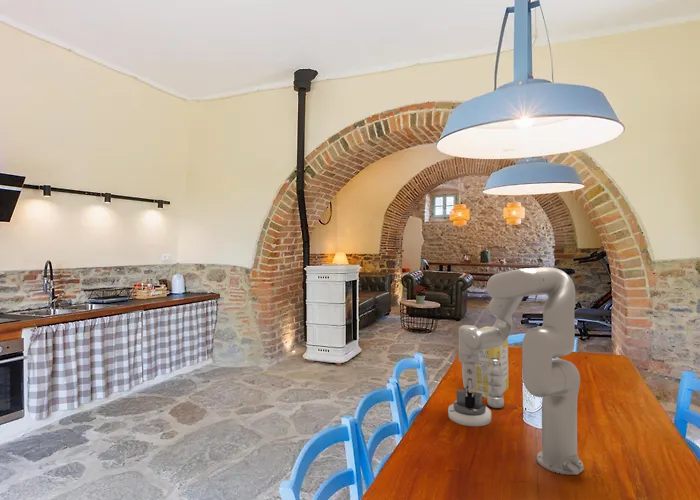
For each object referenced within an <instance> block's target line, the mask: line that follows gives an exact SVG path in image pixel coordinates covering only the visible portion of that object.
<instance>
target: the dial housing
mask: <svg viewBox="0 0 700 500" xmlns="http://www.w3.org/2000/svg"><path fill="white" fill-rule="evenodd" d="M447 408H448V409H447V411H448V416H447V417H448V419H450V420H451V421H452V422H454V423H455V424H457V425H462V426H467V427H484V426H486V425H489V424H490V423H491V422H492V410H491V409H490V408H489V407H487V406H486V412H485V413H484V414H481V415H465V414H461V413H459V412H457V411H455V410H454V403H452V404H449V405H448V407H447Z"/></svg>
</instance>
